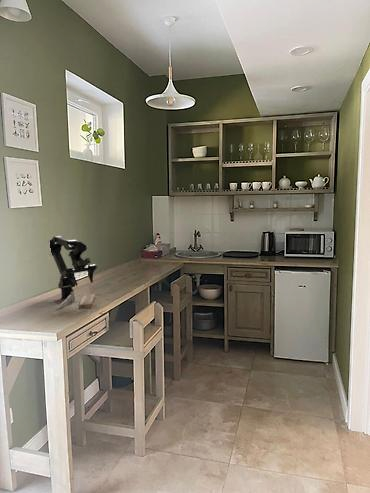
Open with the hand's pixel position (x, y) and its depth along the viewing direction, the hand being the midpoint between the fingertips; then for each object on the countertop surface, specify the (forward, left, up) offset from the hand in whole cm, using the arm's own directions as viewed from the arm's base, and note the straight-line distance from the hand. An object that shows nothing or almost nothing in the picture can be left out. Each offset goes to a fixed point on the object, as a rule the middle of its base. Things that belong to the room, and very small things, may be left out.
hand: (84, 284), depth 217 cm
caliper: (-11, -1, -12) cm, 16 cm away
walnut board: (+1, +2, -11) cm, 11 cm away
